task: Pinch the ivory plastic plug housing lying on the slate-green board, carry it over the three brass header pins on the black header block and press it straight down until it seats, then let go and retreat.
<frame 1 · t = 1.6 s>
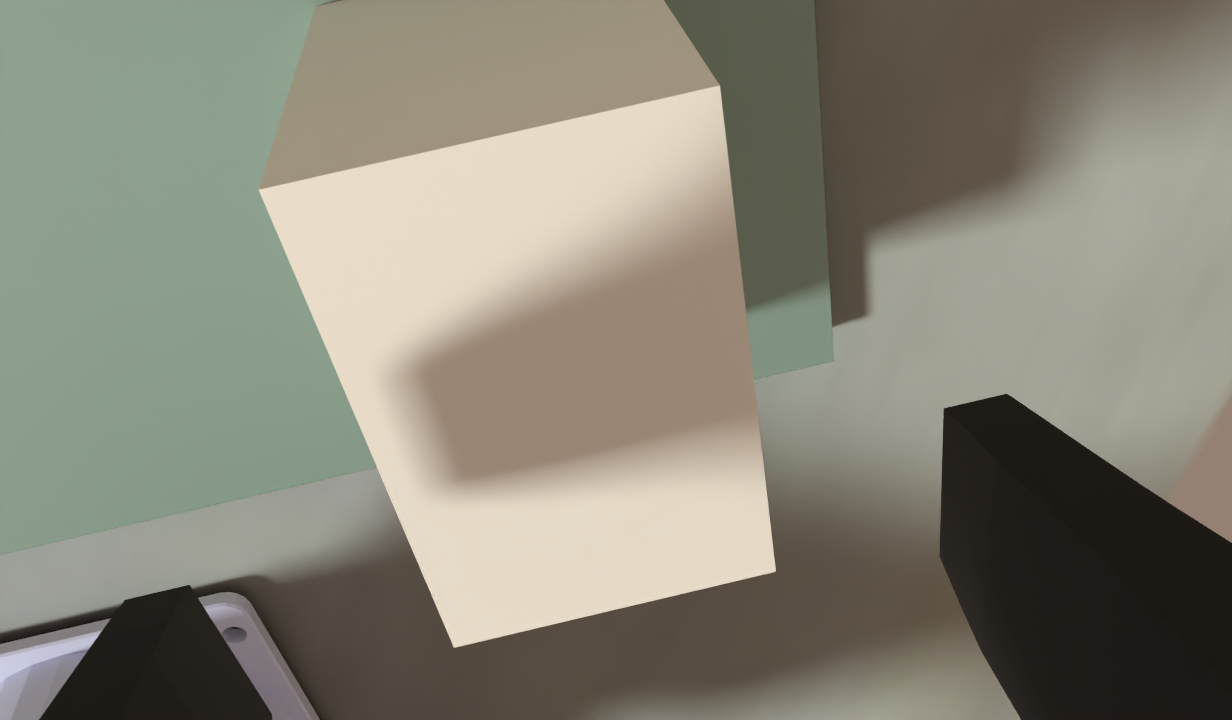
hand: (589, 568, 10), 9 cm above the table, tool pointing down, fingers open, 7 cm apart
plug housing: (524, 189, 17), point 1 cm above the table, touching header board
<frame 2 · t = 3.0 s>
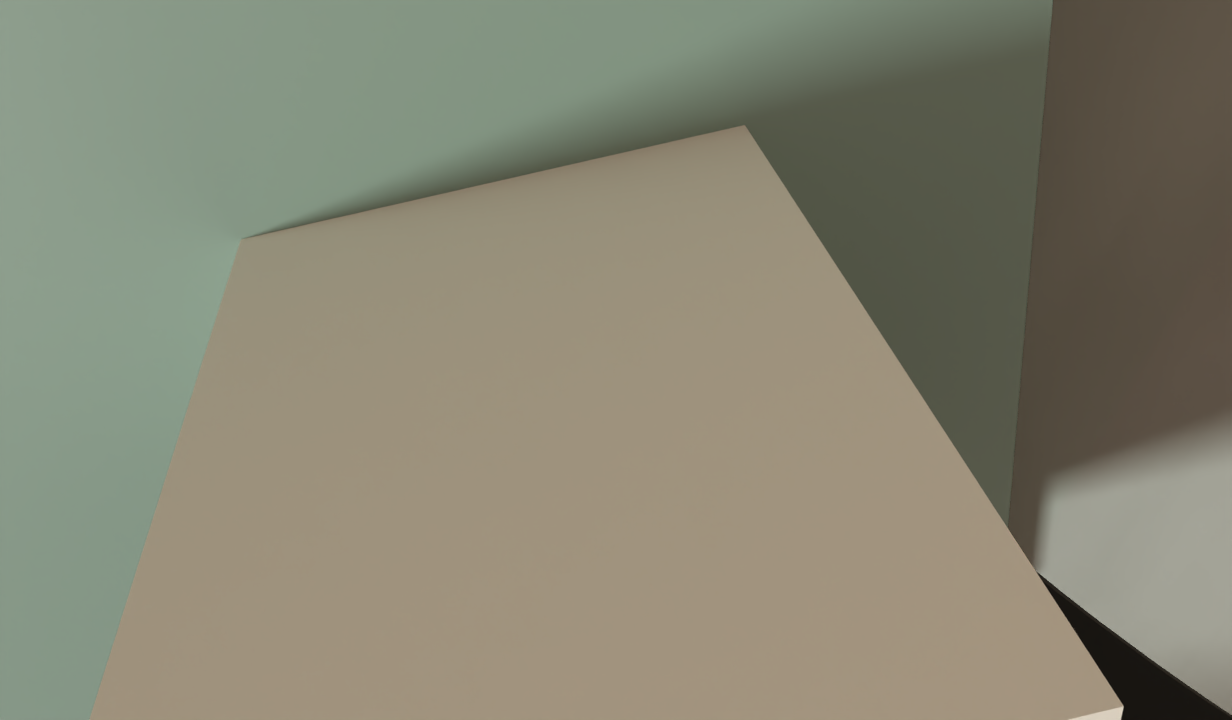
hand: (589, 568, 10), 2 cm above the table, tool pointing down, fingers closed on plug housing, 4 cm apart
plug housing: (572, 471, 11), point 1 cm above the table, touching gripper, header board
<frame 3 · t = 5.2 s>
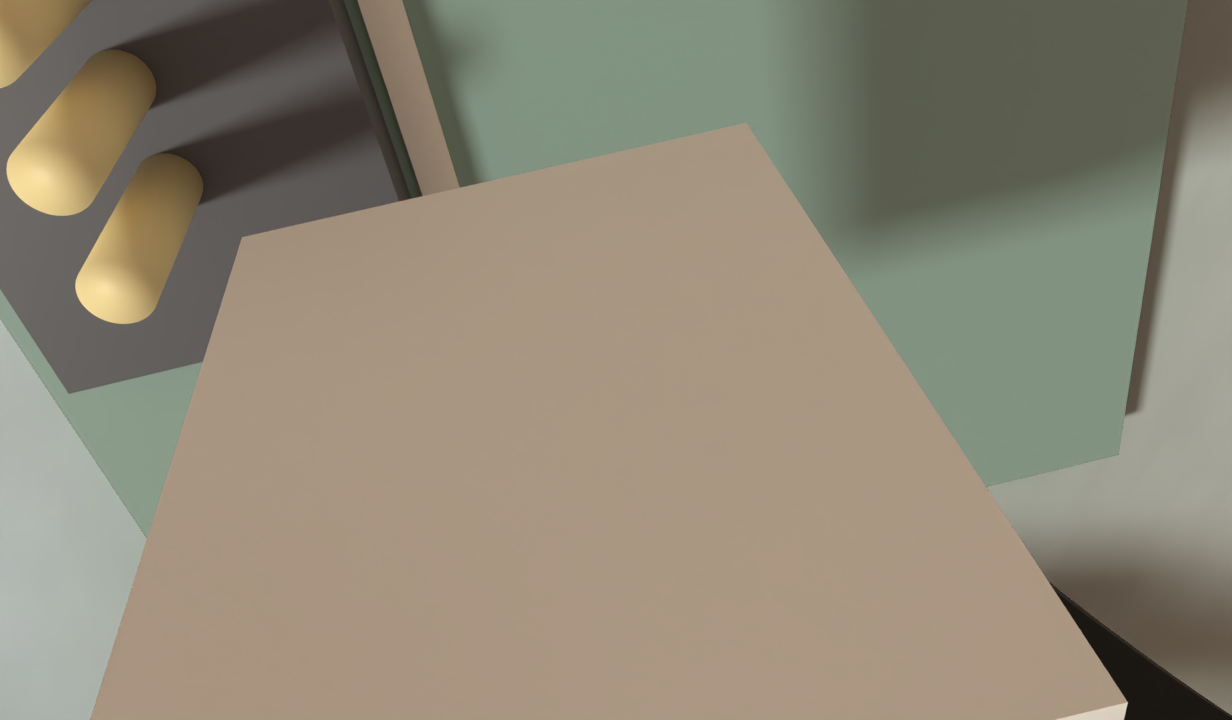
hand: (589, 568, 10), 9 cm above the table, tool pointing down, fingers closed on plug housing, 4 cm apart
header board: (593, 176, 18), on the table
plug housing: (573, 470, 11), point 8 cm above the table, touching gripper
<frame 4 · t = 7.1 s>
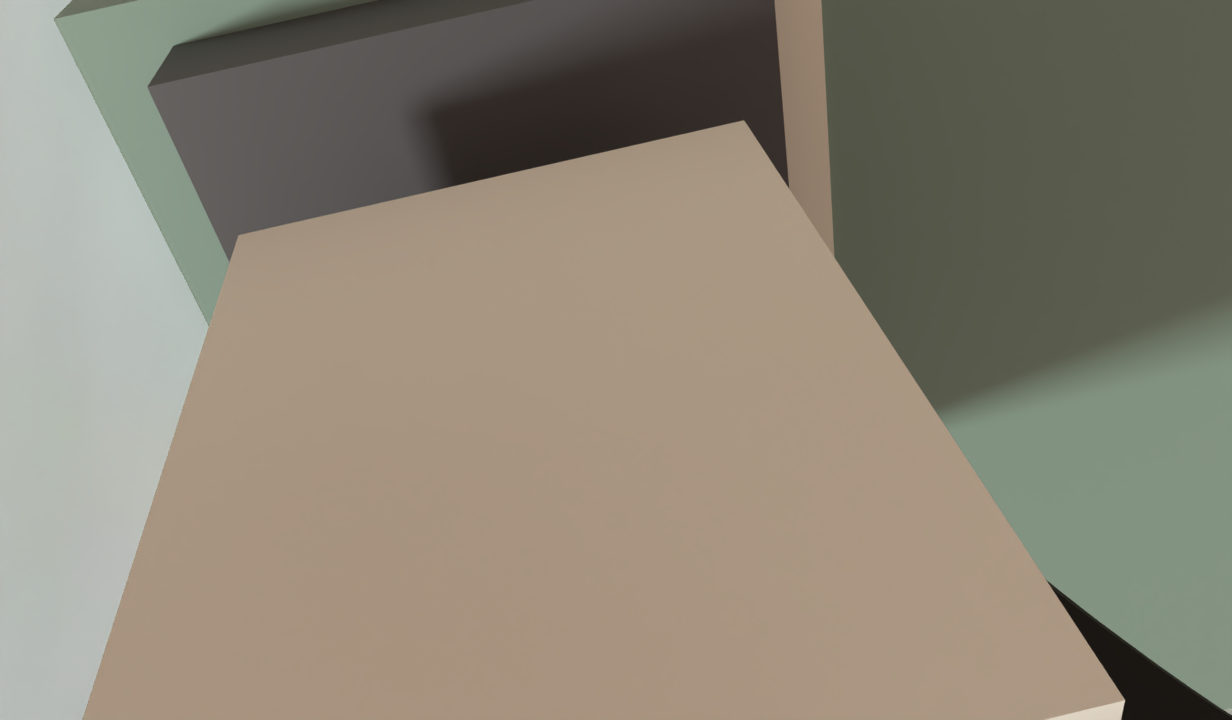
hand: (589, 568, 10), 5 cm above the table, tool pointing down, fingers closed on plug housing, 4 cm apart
header board: (955, 413, 16), on the table
plug housing: (571, 469, 11), point 4 cm above the table, touching gripper
when the fingers open (4 cm above the table, at t = 7.9 s): plug housing stays where it is, resting on header board.
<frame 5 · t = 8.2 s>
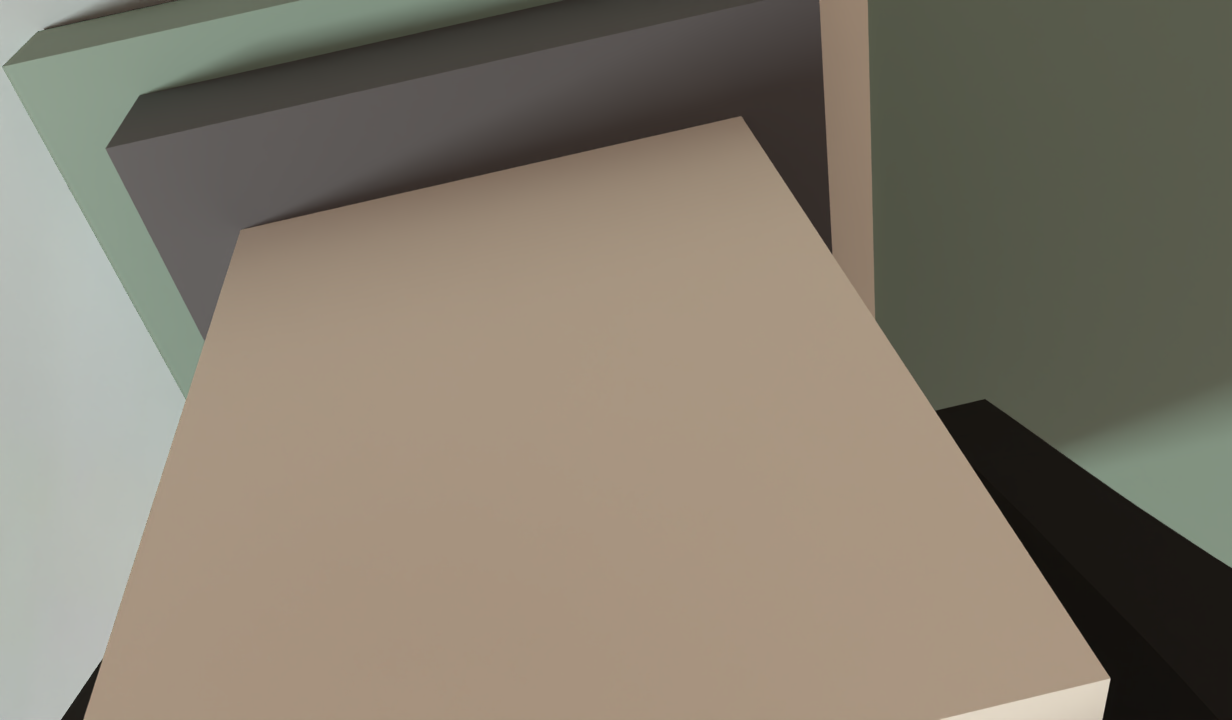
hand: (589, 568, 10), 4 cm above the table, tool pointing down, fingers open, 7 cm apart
header board: (995, 471, 15), on the table
plug housing: (570, 462, 11), point 2 cm above the table, touching header board
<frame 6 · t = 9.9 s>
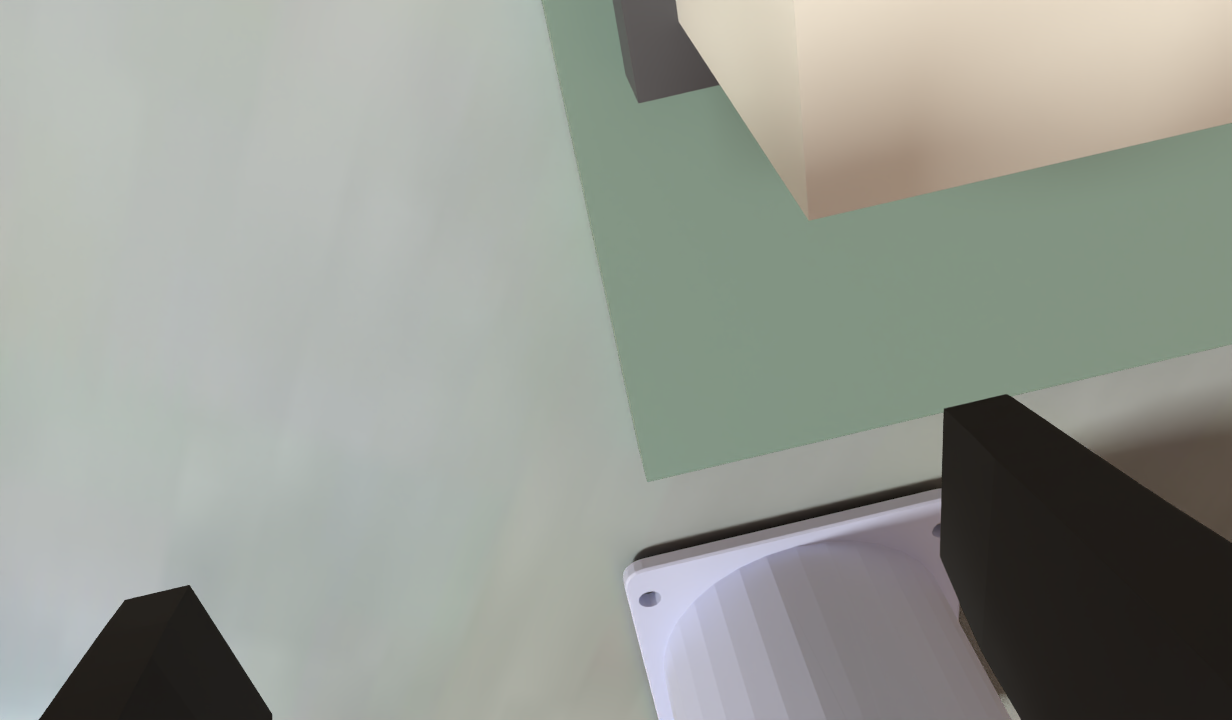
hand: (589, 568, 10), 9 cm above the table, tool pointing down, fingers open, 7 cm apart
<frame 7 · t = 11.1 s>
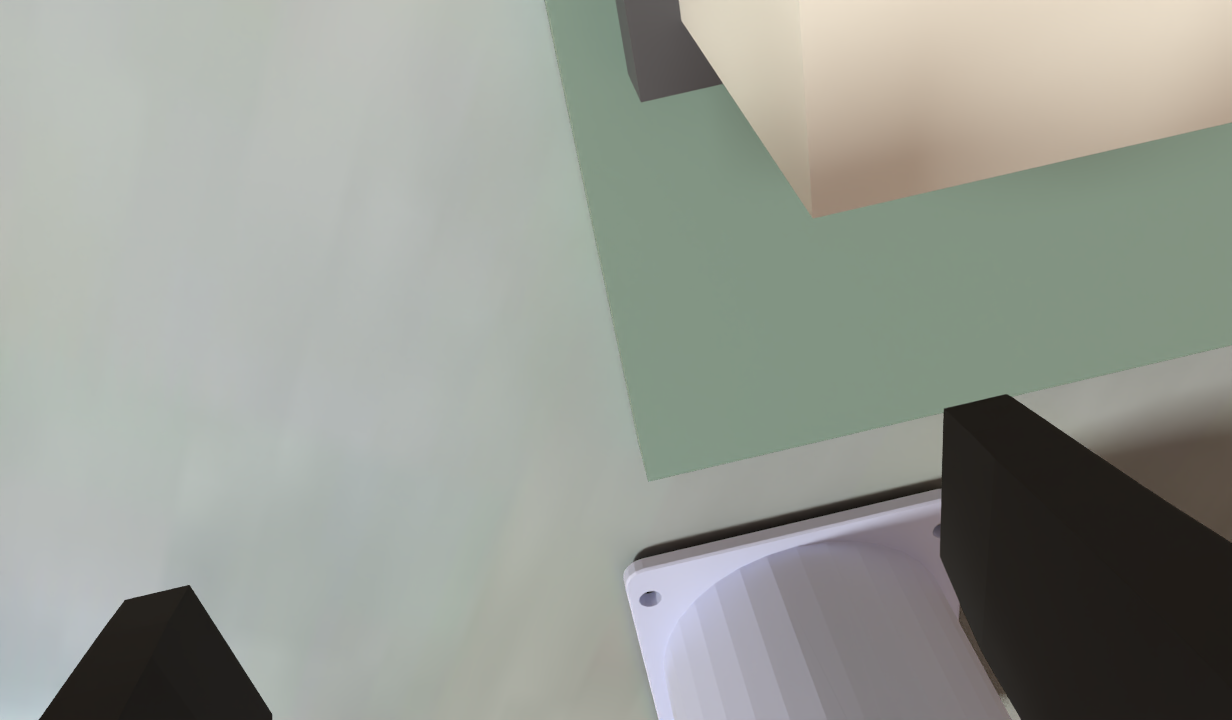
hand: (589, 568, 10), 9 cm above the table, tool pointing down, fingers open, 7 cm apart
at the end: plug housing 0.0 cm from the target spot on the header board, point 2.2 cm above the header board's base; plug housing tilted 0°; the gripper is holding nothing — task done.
